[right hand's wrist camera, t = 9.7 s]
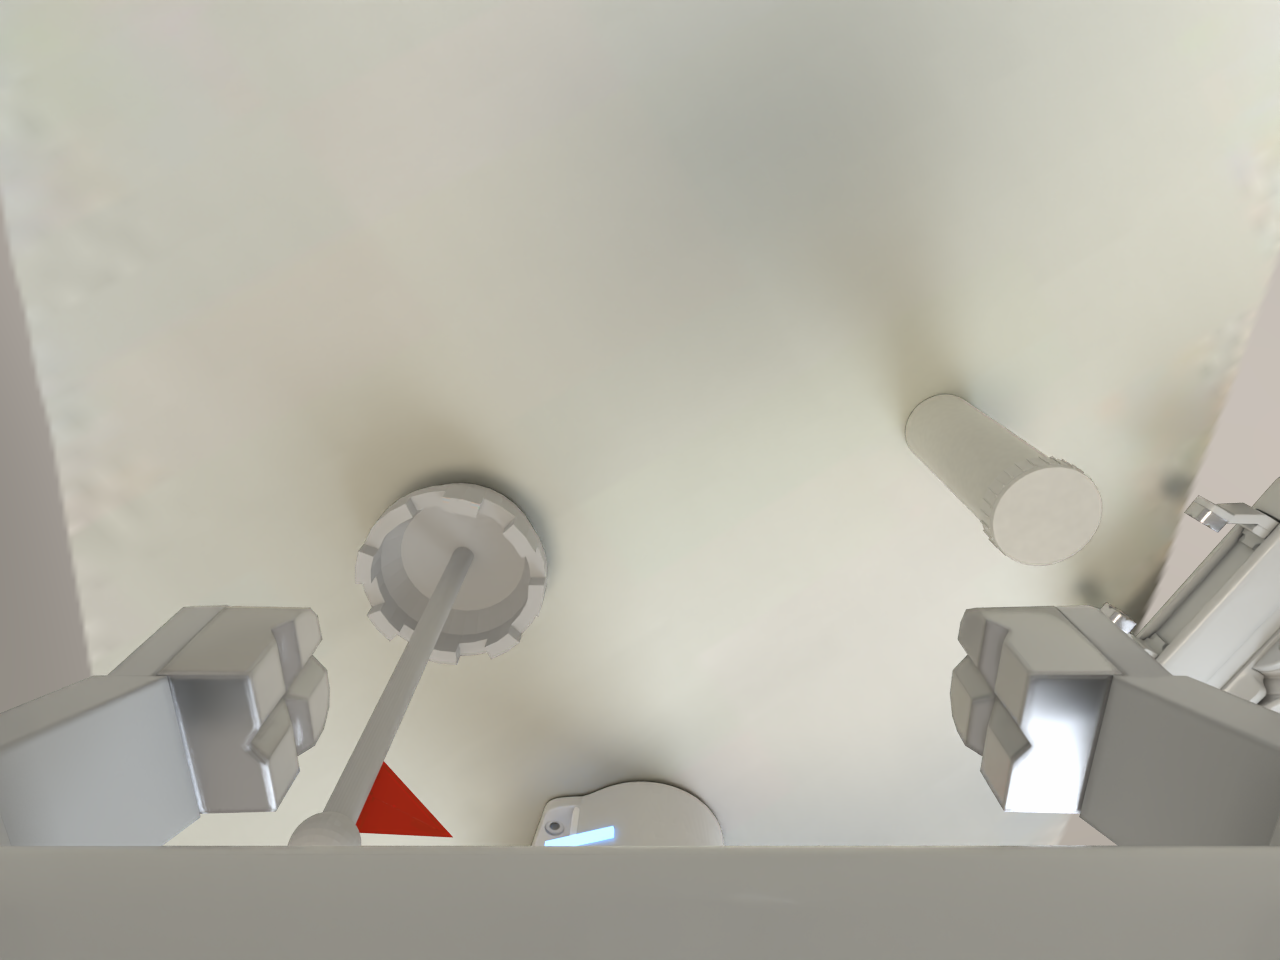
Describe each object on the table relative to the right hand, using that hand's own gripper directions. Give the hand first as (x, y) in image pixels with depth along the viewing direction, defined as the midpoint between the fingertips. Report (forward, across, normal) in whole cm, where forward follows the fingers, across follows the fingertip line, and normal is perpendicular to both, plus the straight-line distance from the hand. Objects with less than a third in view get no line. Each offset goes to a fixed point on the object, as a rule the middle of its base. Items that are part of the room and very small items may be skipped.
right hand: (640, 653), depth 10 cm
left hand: (+41, -35, +19) cm, 57 cm away
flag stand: (+46, +13, +20) cm, 52 cm away
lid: (+30, -21, +11) cm, 38 cm away
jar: (+46, -21, +10) cm, 51 cm away
